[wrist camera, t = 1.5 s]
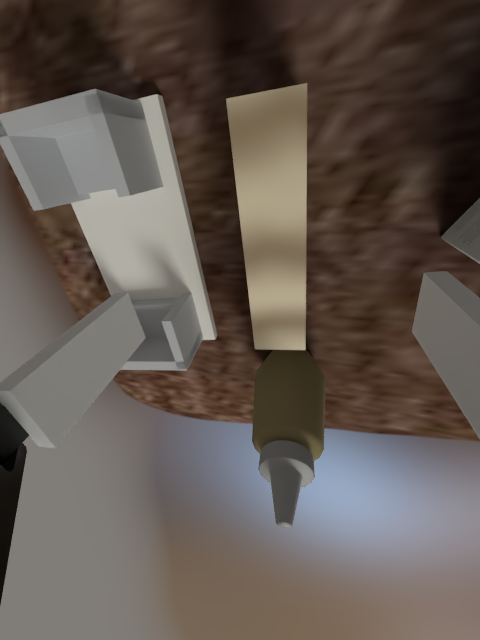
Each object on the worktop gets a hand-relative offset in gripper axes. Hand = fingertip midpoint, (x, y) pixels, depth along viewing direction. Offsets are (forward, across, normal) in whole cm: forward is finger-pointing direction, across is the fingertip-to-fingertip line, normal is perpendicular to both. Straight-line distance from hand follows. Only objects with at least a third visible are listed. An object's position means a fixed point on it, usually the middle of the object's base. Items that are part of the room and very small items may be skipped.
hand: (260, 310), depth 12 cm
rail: (+16, 0, 0) cm, 17 cm away
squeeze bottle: (+16, 0, -17) cm, 24 cm away
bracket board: (+16, -15, 0) cm, 22 cm away
